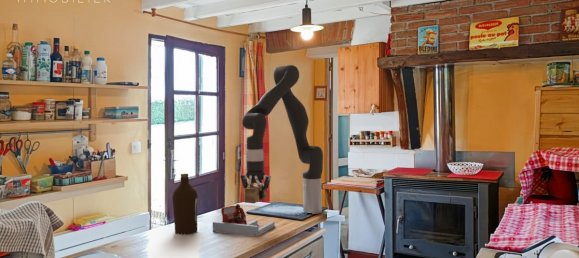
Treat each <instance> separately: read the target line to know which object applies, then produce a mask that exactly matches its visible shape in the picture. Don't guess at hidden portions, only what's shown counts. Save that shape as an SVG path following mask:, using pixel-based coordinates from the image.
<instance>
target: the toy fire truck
mask: <svg viewBox="0 0 579 258" xmlns="http://www.w3.org/2000/svg"><path fill="white" fill-rule="evenodd" d="M220 213H221V215H222V217H221V218H222V219H221V220H222V221H221V222H226V223H235V224H245V225H246V224H248V223H247V216H246V213H245V211H244V209H243V207H241V205H240V204H239V203H237V204H236V205H229V206H224V207H222V208H221V211H220Z"/></svg>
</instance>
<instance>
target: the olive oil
mask: <svg viewBox="0 0 579 258" xmlns="http://www.w3.org/2000/svg"><path fill="white" fill-rule="evenodd" d="M189 179H190V178H189V174H188V173H181V174H180V184H179V185H177V187H176V188H175V189H174V191H173V193H172V197H171V198H172V207H173V208H172V209H173V221H174V232H175V234H176V235H184V234H185V235H192V234H195V233H197V232H198V203H199V196H198V191H197V189H196V188H195V187H193V185H191V183H190V182H189Z"/></svg>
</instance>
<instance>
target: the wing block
mask: <svg viewBox="0 0 579 258" xmlns="http://www.w3.org/2000/svg"><path fill="white" fill-rule="evenodd" d="M263 185H264V183H263ZM243 190H244V203H247V204H256V203H258V202H261V201H263V200H265V199H267V198H268V189H265V190H264V198H263V199H262V200H260V199H259V191H260V190H259V187H258V185H257V183H255V184H253V186H251V187H248V188H245V189H244V188H243Z"/></svg>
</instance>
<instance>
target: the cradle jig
mask: <svg viewBox="0 0 579 258" xmlns="http://www.w3.org/2000/svg"><path fill="white" fill-rule="evenodd" d="M258 224H259V223H258V220H257V219H254V220H252V221H249V222H248V223H247V224H246V225H245V224H235V223H226V222H222V221H215V220H214V221H213V222H212V232H217V233H225V234H233V235H242V236H248V237H249V236H251V237H258V236H260V235H262V234H263V233H265V232H268V231H270V230H271V229H272V228H275V221H270V222H268V223H266V224H264V225H263V226H261V227H259V225H258Z"/></svg>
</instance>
